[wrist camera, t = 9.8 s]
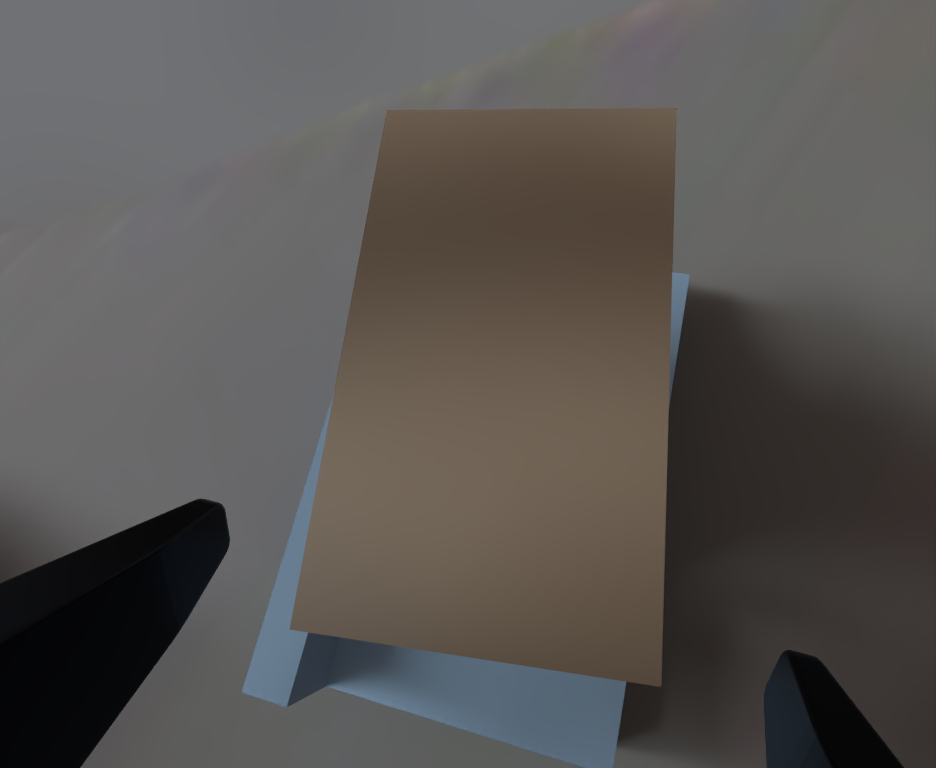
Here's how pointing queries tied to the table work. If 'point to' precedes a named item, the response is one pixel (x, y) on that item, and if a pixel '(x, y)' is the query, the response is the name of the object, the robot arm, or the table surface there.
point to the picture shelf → (441, 662)
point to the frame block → (504, 396)
